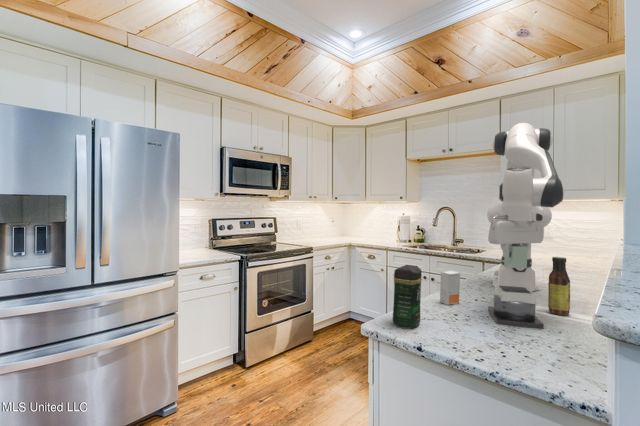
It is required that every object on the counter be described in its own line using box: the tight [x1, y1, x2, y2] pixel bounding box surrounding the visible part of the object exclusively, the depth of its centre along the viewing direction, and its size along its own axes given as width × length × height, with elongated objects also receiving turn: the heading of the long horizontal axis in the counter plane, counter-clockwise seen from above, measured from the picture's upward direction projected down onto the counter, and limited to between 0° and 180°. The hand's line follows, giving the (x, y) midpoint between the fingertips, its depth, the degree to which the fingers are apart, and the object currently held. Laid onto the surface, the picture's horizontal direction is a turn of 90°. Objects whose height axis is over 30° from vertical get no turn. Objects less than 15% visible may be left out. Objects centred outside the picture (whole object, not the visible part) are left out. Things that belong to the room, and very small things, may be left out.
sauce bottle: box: [547, 256, 571, 316], centre depth 115 cm, size 6×6×20 cm
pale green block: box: [504, 244, 527, 268], centre depth 108 cm, size 6×4×8 cm
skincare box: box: [439, 270, 461, 306], centre depth 126 cm, size 6×4×12 cm
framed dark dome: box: [487, 285, 545, 330], centre depth 109 cm, size 14×13×10 cm
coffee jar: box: [392, 264, 422, 329], centre depth 103 cm, size 10×8×19 cm
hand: (515, 257), depth 108 cm, fingers closed on pale green block, 6 cm apart
